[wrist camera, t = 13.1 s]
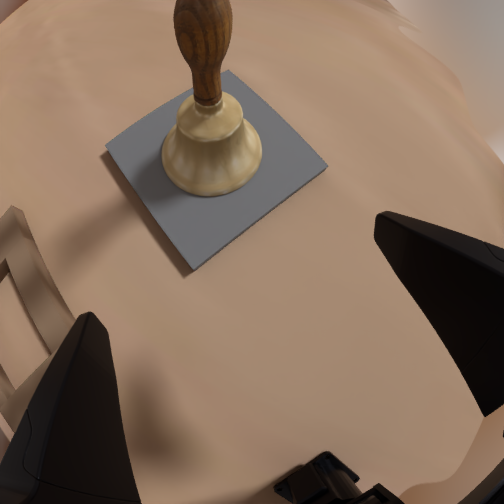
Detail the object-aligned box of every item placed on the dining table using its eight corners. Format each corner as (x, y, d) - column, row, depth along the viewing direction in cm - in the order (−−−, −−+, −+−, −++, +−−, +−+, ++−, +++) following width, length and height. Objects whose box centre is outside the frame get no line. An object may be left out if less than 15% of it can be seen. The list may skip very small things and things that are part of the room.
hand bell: (270, 189, 21) (347, 16, 6) (164, 204, 20) (70, 42, 5) (253, 107, 22) (283, -52, 7) (161, 119, 21) (117, -37, 6)
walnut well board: (111, 371, 19) (101, 377, 17) (29, 435, 16) (20, 441, 14) (22, 210, 20) (11, 205, 18) (-40, 299, 17) (-51, 299, 15)
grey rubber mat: (324, 170, 23) (328, 165, 22) (194, 271, 21) (193, 269, 20) (228, 76, 24) (228, 69, 23) (108, 150, 22) (104, 145, 21)
